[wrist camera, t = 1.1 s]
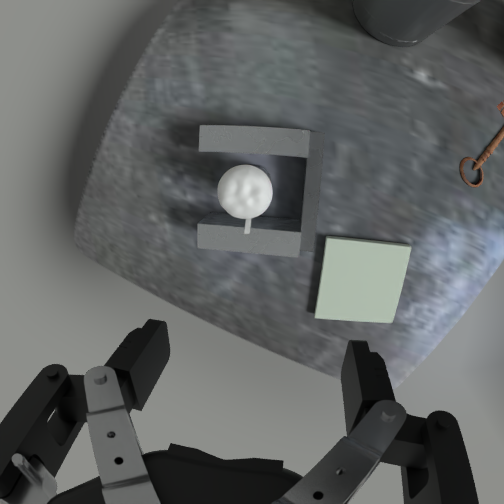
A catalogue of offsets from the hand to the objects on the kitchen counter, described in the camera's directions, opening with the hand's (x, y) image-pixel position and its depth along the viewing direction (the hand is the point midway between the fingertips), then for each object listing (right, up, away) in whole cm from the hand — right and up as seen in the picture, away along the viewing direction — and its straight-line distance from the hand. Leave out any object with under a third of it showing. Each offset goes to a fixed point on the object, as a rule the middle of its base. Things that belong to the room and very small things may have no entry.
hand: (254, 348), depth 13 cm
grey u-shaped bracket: (0, +11, +20) cm, 23 cm away
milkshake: (0, +11, +20) cm, 23 cm away
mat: (+13, +1, +22) cm, 26 cm away
